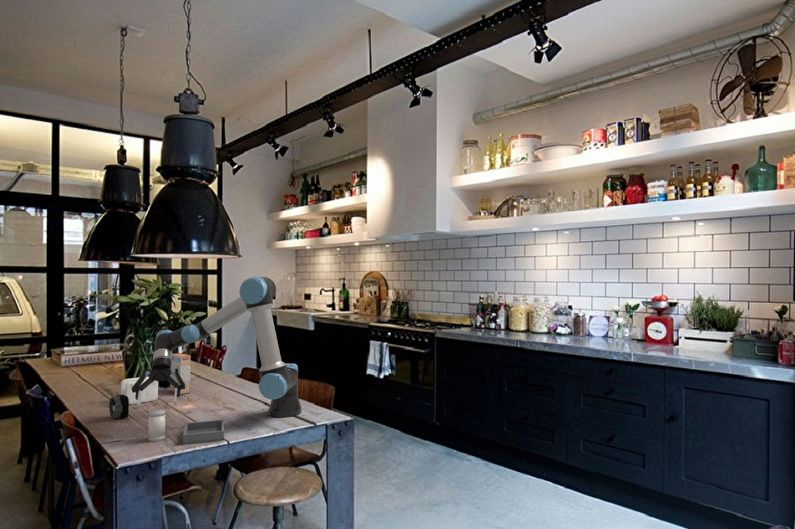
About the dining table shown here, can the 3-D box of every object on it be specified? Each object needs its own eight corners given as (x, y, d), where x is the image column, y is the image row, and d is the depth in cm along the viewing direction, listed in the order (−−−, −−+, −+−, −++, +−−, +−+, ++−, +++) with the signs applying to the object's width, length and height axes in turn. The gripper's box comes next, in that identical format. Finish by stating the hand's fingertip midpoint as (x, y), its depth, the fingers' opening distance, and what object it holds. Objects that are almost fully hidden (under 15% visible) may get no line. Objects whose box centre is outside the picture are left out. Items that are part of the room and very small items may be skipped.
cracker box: (190, 393, 271) (191, 355, 272) (179, 395, 267) (180, 356, 267) (180, 389, 281) (180, 352, 281) (169, 391, 277) (170, 353, 277)
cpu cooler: (108, 417, 225) (108, 394, 225) (122, 414, 229) (122, 392, 229) (115, 421, 217) (116, 398, 218) (129, 418, 222) (130, 396, 222)
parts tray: (223, 428, 207) (223, 419, 207) (223, 440, 192) (223, 431, 192) (186, 431, 202) (186, 423, 203) (183, 444, 187) (183, 435, 187)
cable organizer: (151, 397, 262) (152, 375, 262) (158, 401, 254) (158, 378, 254) (120, 402, 252) (120, 379, 252) (126, 406, 244) (126, 382, 244)
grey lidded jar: (166, 436, 197) (166, 408, 197) (164, 440, 191) (164, 412, 192) (149, 437, 195) (149, 409, 195) (147, 442, 189) (147, 413, 190)
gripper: (193, 365, 221) (190, 407, 207) (131, 368, 213) (123, 412, 199) (192, 355, 216) (189, 397, 202) (129, 358, 208) (121, 402, 194)
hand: (156, 404), depth 200 cm, fingers open, 13 cm apart
